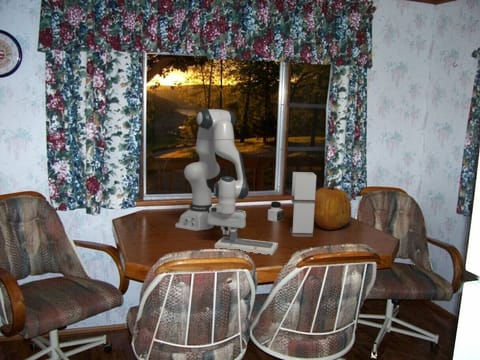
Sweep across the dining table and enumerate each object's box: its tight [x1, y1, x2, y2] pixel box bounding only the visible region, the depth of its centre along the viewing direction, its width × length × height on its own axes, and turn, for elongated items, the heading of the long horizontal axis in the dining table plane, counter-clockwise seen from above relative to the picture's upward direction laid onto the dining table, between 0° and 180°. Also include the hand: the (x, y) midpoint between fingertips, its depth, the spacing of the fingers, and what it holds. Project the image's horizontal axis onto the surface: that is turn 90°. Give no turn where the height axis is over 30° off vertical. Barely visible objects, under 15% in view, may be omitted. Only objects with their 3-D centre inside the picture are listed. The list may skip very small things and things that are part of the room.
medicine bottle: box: [267, 200, 284, 223], centre depth 286 cm, size 7×7×12 cm
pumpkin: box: [314, 178, 352, 231], centre depth 271 cm, size 26×23×30 cm
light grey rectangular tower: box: [289, 171, 317, 238], centre depth 256 cm, size 11×11×35 cm
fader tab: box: [229, 227, 239, 242], centre depth 233 cm, size 4×5×7 cm
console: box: [214, 236, 279, 256], centre depth 231 cm, size 30×14×3 cm, turn 74°
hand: (226, 234), depth 234 cm, fingers closed
